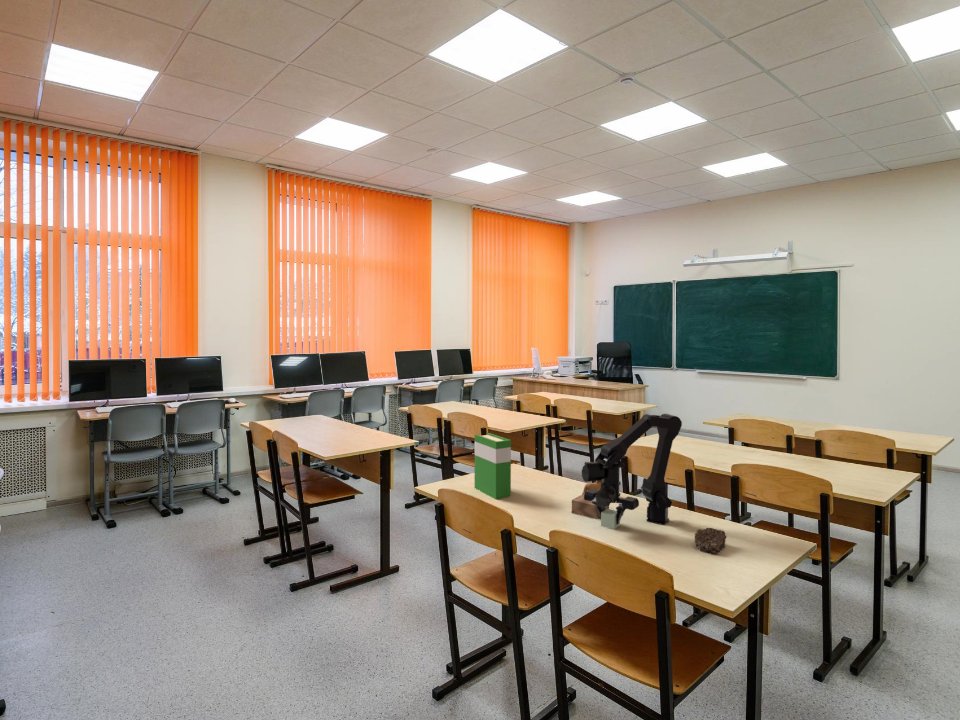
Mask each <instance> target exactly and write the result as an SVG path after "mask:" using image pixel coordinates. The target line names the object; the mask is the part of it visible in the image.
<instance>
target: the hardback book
mask: <svg viewBox="0 0 960 720" xmlns="http://www.w3.org/2000/svg"><path fill="white" fill-rule="evenodd" d="M511 473H512V440H511V439H508V438H506V437H502V436H499V435H496V434H493V433H490V432H487V434H485V435H480V434H474V489H475V488H476V491H477V490H478V491H479V490H480V491H479V492H481V493H482V494H485V495H486V496H489V497H490V498H492V499H494V500H500V499H505V498H504V497H506V498H510V497H509V496H511V495H512V492H511V491H512V490H511V489H512V488H511V487H512V485H511V484H512V483H511V481H512V480H511V479H512V474H511ZM499 498H500V499H499Z"/></svg>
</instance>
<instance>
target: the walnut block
mask: <svg viewBox="0 0 960 720" xmlns="http://www.w3.org/2000/svg"><path fill="white" fill-rule="evenodd" d="M592 502H593V500H592V501H588V500H584V494H582V493H581V494H580V495H578V496H576V497H574V498H573V499H571V514H574V513H575V514H574V515H578V514H579V516H582V515H583V517H586V518H587V517H588V518H592V519H595V520H597V519H598V518H599V517H601V516H600V513H599V510H598V508H597V506H596V505H595V504H593V503H592ZM606 509H610V505H609V506H606V507H605V510H606Z"/></svg>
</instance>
